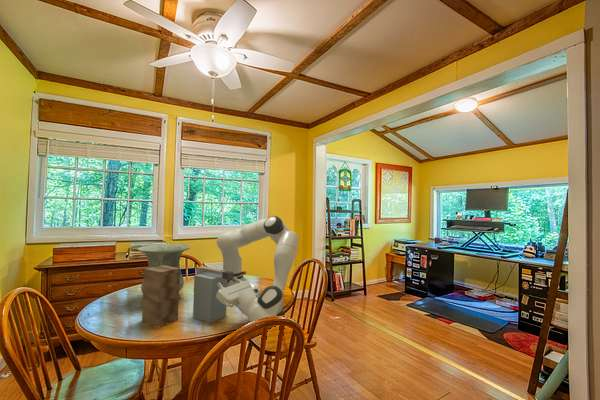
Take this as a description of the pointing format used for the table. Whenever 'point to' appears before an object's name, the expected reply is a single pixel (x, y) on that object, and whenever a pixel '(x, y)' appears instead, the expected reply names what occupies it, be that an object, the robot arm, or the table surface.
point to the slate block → (207, 298)
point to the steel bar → (215, 272)
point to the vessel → (164, 257)
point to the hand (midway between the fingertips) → (226, 280)
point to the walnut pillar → (160, 295)
